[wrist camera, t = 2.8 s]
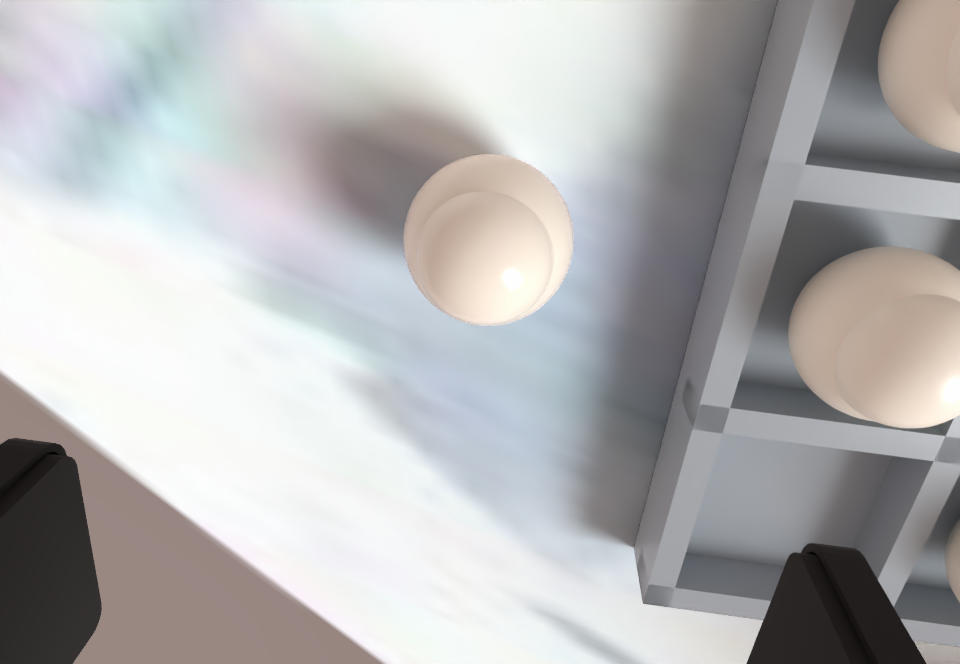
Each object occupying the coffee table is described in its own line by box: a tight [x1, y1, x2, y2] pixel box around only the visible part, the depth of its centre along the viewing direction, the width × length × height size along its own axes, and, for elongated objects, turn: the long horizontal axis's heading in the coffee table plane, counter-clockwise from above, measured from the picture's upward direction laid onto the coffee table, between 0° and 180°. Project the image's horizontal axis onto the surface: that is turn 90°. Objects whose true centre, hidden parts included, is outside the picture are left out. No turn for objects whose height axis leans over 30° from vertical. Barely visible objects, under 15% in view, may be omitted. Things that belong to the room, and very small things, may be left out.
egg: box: [404, 154, 574, 326], centre depth 21 cm, size 5×5×6 cm
